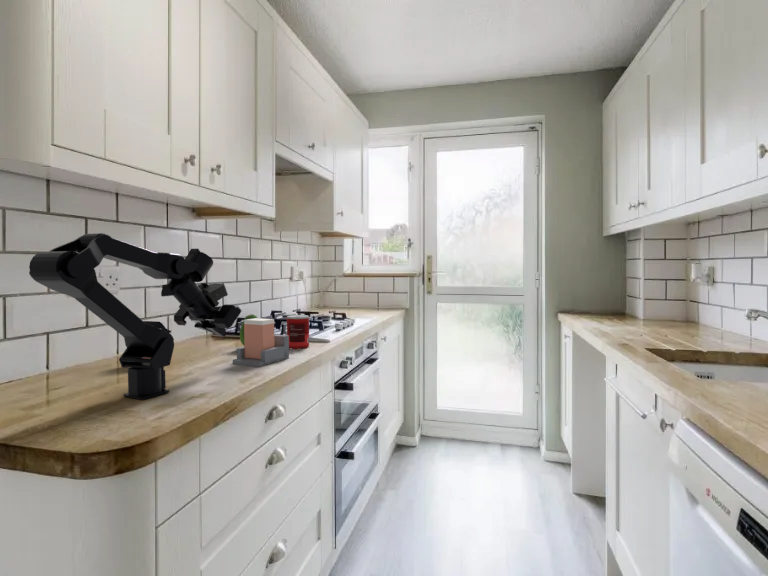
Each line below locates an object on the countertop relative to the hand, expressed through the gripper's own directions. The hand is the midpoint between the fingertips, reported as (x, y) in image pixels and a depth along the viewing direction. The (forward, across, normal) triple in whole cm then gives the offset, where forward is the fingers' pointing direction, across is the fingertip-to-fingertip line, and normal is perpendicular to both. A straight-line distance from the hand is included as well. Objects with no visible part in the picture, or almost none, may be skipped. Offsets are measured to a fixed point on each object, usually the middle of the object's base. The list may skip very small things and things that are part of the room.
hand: (224, 335), depth 116 cm
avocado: (+26, +16, -13) cm, 33 cm away
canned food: (+33, +4, -20) cm, 39 cm away
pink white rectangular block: (+15, 0, -4) cm, 16 cm away
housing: (+17, 0, -4) cm, 17 cm away
